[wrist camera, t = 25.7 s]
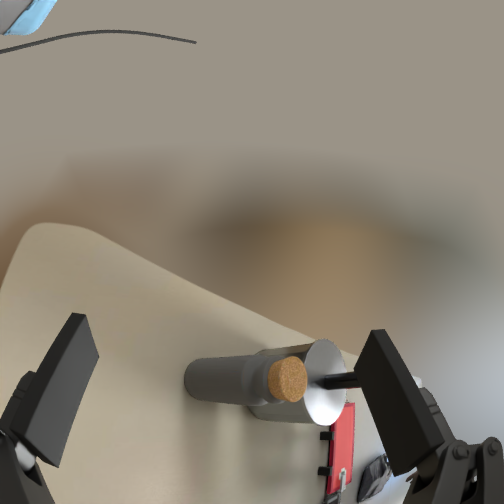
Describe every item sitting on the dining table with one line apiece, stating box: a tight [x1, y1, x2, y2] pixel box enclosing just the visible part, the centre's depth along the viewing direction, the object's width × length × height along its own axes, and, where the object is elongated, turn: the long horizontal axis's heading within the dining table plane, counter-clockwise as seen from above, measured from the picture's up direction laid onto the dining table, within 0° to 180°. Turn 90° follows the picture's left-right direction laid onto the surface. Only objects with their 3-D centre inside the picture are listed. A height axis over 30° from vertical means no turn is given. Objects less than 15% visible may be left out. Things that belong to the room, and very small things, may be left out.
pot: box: [247, 343, 314, 424], centre depth 40 cm, size 12×12×10 cm
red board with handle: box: [318, 403, 355, 504], centre depth 48 cm, size 30×3×15 cm
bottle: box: [184, 355, 307, 406], centre depth 30 cm, size 6×6×15 cm
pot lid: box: [301, 339, 361, 426], centre depth 35 cm, size 13×13×7 cm
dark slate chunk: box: [358, 453, 392, 503], centre depth 57 cm, size 15×22×5 cm
